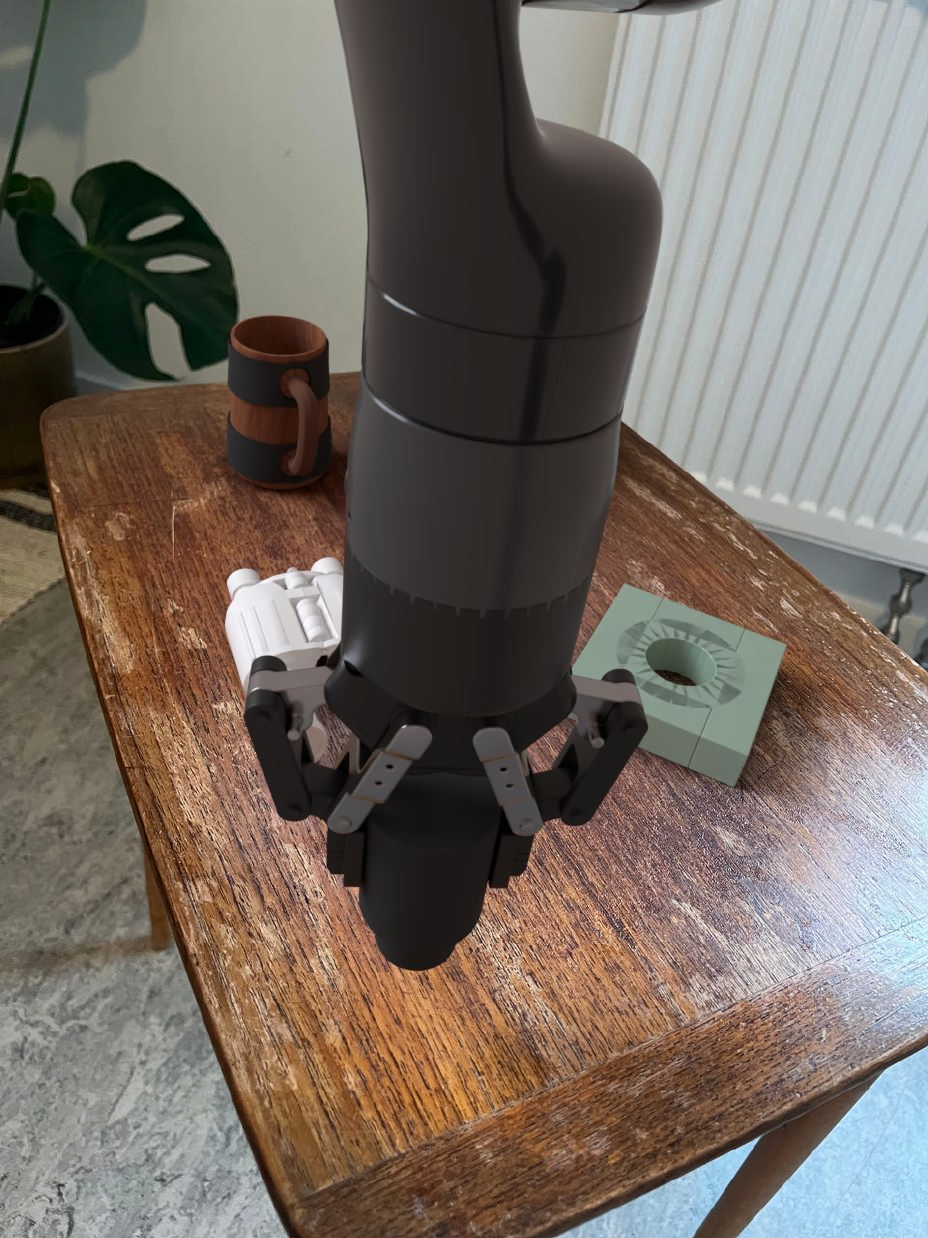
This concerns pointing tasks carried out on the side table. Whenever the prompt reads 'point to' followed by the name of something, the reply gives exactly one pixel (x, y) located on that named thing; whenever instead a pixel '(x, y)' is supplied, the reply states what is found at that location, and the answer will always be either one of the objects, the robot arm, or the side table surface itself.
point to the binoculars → (286, 622)
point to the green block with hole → (703, 652)
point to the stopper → (428, 866)
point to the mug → (278, 402)
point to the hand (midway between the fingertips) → (425, 868)
